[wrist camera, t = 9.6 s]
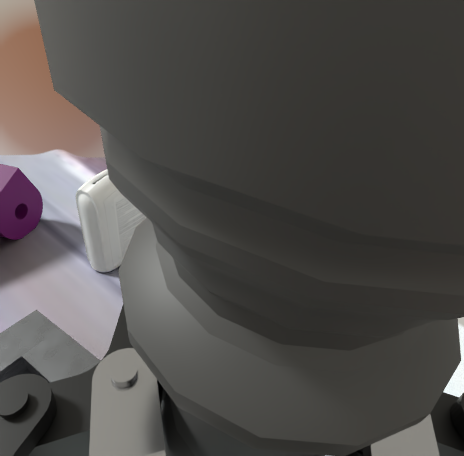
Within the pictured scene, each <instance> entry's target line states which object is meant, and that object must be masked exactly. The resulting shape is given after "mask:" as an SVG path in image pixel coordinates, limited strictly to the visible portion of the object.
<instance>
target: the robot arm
mask: <svg viewBox="0 0 464 456" xmlns="http://www.w3.org/2000/svg"><path fill="white" fill-rule="evenodd" d="M165 395H166V391H165V389H164V388H163V387H162V385H161V384H160V383H159V381H158V380H157V379H156V377H155V376H154V375H153V373H152V372H151V371H150V369H149V368H148V367H147V365H146V364H145V362H144V361H143V360H142V358H141V357H140V356H139V354H138V353H137V352H136V350H135V349H134V348H133V346H132V345H131V343H130V341H129V336H128V329H127V323H126V317H125V310H124V304H123V307H122V310H121V313H120V316H119V319H118V323H117V326H116V329H115V332H114V335H113V338H112V342H111V345H110V347H109V350H108V352H107V353H106V355H105V356H104V358H103V359H102V360H101V361H100V362H99V363H98V364H97V365H95V366H94V367H93V368H91V369H90V370H88V371H86V372H84V373H82V374H79V375H76V376H72V377H68V378H65V379H61V380H57V381H53V382H50V383H48V382H47V380H45V379H44V378H43V377H41V376H39V375H35V374H21V375H16V376H13V377H10V378H8V379H6V380H4V381H2V382H1V383H0V456H166V453H165V444H164V436H163V427H162V419H161V403H162V400H164V397H165ZM346 456H464V393H463V394H462V395H461V396H460V397H456V396H453V395H450V394H447V393H444V392H442V394H441V396H440V397H439V399H438V401H437V403H436V404H435V406H434V408H433V410H432V411H431V413H430V414H429V415H428V416H427V417H426V418H425V419H424V420H422V421H421V422H420V423H418V424H416V425H414V426H412V427H409V428H407V429H405V430H403V431H400V432H398V433H396V434H394V435H391V436H389V437H387V438H385V439H382V440H380V441H378V442H376V443H373V444H371V445H369V446H367V447H364V448H362V449H360V450H358V451H355V452H353V453H351V454H349V455H346Z"/></svg>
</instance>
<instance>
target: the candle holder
mask: <svg viewBox="0 0 464 456" xmlns="http://www.w3.org/2000/svg"><path fill="white" fill-rule="evenodd" d="M34 1H35V5H36V10H37V14H38V18H39V24H40V28H41V33H42V36H43V41H44V46H45V51H46V55H47V59H48V64H49V69H50V73H51V78H52V82H53V87H54V90H55V91H56V92H58V93H59V94H60V95H62V96H63V97H64V98H65V99H67V100H68V101H69V102H70V103H72V104H73V105H74V106H76V107H77V108H78V109H79V110H81V111H82V112H83V113H85V114H86V115H87V116H89V117H90V118H91V119H92V120H94V121H95V122H96V123H97V124H99V125H100V130H101V136H102V141H103V147H104V153H105V158H106V164H107V170H108V175H109V180H110V181H111V182H112V183H113V184H114V186H115V187H116V188H117V189H118V190H119V192H120V193H121V194H122V195H123V196H124V197H125V198H126V199H127V200H128V201H130V202H131V203H132V204H133V205H134V206H135V207H136V208H137V209H138V210H139V211H140V212H141V213H142V214H143V215H145V216H146V217H147V218H146V219H145V220H143V221H142V222H141V223H140V224H139V225H138V226H137V227H136V228H135V231H134V233H133V236H132V238H131V241H130V243H129V246H128V248H127V251H126V253H125V256H124V258H123V261H122V263H121V266H120V268H119V271H118V272H119V278H120V285H121V291H122V297H123V304H124V310H125V317H126V323H127V329H128V336H129V341H130V343H131V345H132V346H133V348H134V349H135V350H136V352H137V353H138V354H139V356H140V357H141V358H142V360H143V361H144V362H145V364H146V365H147V367H148V368H149V369H150V371H151V372H152V373H153V375H154V376H155V377H156V379H157V380H158V381H159V383H160V384H161V385H162V387H163V388H164V389H165V391H166V395H165V397H164V400H162V403H161V419H162V427H163V436H164V444H165V453H166V456H325V455H332V456H346V455H349V454H351V453H353V452H355V451H358V450H360V449H362V448H364V447H367V446H369V445H371V444H373V443H376V442H378V441H380V440H382V439H385V438H387V437H389V436H391V435H394V434H396V433H398V432H400V431H403V430H405V429H407V428H409V427H412V426H414V425H416V424H418V423H420V422H421V421H422V420H424V419H425V418H426V417H427V416H428V415H429V414H430V413H431V411H432V410H433V408H434V406H435V404H436V403H437V401H438V399H439V397H440V396H441V394H442V392H443V391H444V389H445V387H446V385H447V384H448V382H449V380H450V379H451V377H452V375H453V373H454V372H455V370H456V368H457V367H458V365H459V363H460V361H461V354H460V342H459V330H458V319H457V318H461V317H464V0H34Z"/></svg>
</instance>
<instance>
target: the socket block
mask: <svg viewBox="0 0 464 456" xmlns="http://www.w3.org/2000/svg"><path fill="white" fill-rule="evenodd" d="M99 362H100V360H99V359H97V358H96V357H95V356H94V355H92V354H91V353H90V352H89V351H87V350H86V349H85V348H84V347H82V346H81V345H80V344H79V343H77V342H76V341H75V340H74V339H72V338H71V337H70V336H69V335H67V334H66V333H65V332H64V331H62V330H61V329H60V328H59V327H57V326H56V325H55V324H54V323H52V322H51V321H50V320H49V319H47V318H46V317H45V316H44V315H42V314H41V313H40V312H39V311H37V310H35V311H34V312H32V313H31V314H29V315H28V316H26V317H25V318H23V319H22V320H20V321H19V322H17V323H15V324H14V325H12V326H11V327H9V328H8V329H6V330H5V331H3V332H2V333H0V383H1V382H2V381H4V380H6V379H8V378H10V377H13V376H16V375H21V374H35V375H39V376H41V377H43V378H44V379H45V380H47V382H48V383H50V382H53V381H57V380H61V379H65V378H68V377H72V376H76V375H79V374H82V373H84V372H86V371H88V370H90V369H91V368H93V367H94V366H95V365H97V364H98V363H99Z"/></svg>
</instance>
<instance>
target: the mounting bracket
mask: <svg viewBox="0 0 464 456" xmlns="http://www.w3.org/2000/svg"><path fill="white" fill-rule="evenodd" d="M42 209H43V202H42V197H41V194H40V192H39V191H38V189H37V188H36V187H35V186H34V185H33V184H32V183H31V182H30V180H29V179H28V178H27V177H26V176H25V175H24V174H23V173H22V172H21V170H20V169H19V168H17V167H12V166H7V165H3V164H0V236H1V237H5V238H9V239H14V240H17V239H22V238H23V237H24V236H26V235H27V234H28V233H29V232H31V231H32V230H33V229H35V228H36V226H37V225H38V223H39V221H40V218H41V215H42Z"/></svg>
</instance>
